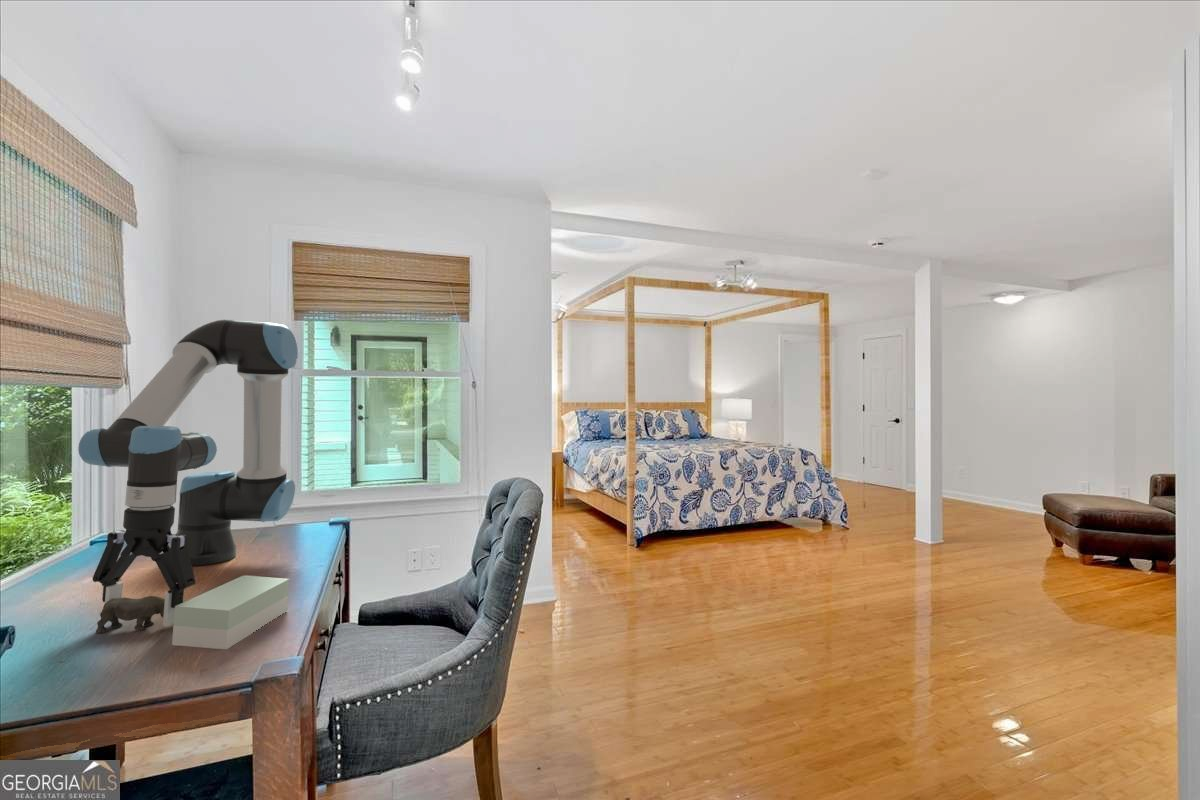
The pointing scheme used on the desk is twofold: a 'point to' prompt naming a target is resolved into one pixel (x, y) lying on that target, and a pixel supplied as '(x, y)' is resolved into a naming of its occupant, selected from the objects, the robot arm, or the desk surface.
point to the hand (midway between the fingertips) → (141, 621)
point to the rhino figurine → (130, 611)
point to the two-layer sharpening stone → (229, 612)
